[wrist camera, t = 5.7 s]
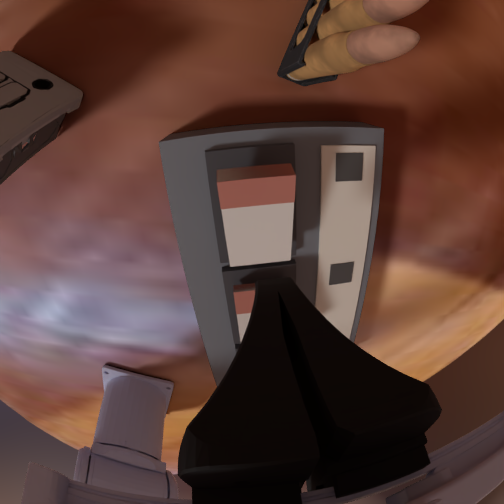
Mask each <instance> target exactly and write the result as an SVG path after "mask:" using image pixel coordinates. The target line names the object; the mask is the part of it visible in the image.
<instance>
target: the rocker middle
mask: <svg viewBox="0 0 504 504" xmlns="http://www.w3.org/2000/svg"><path fill="white" fill-rule="evenodd" d="M233 293H234V300H235V308H236V314H237V320H238V327H239V335H240V342H241V341H242V339H243V336H244V334H245V331H246V328H247V325H248V322H249V319H250V315H251V311H252V307H253V303H254V297H255V283H252V284H242V285H233Z"/></svg>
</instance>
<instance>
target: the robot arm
mask: <svg viewBox="0 0 504 504" xmlns="http://www.w3.org/2000/svg"><path fill="white" fill-rule="evenodd" d="M102 374H103V384H104V397H103V401H102V405H101V409H100V413H99V417H98V422H97V426H96V431H95V436H94V441H93V444H92V447H91V449H90V448H89V447H86V446H85V447H84V448H81V449H79V452H78V457H77V462H76V467H75V473H74V479H73V480H71V479H68V477H66V476H64V475H62V474H61V473H59V472H57V471H55V470H52V469H49V468H47V467H44V466H41V465H38V464H36V463H33V462H29V466H28V470H27V475H26V480H25V485H24V491H23V496H22V503H21V504H344V503H348V502H351V501H355V500H358V499H361V498H365V497H368V496H371V495H374V494H377V493H380V492H383V491H386V490H388V489H391V488H394V487H396V486H399V485H401V484H404V483H406V482H409V481H411V480H414V479H416V478H418V477H420V476H423V475H425V474H427V473H428V474H427V475H426V477H425V478H424V479H422V480H420V481H419V482H416V483H414V484H412V485H410V486H407V487H406V488H404V489H403V490H401V491H399V492H397V493H395V494H393V495H391V496H389V497H387V498H386V503H387V504H476V503H478V502H479V501H480V500H481V499H483V498H484V497H485V496H486V495H487V494H489V493H490V492H491V491H492V490H493V489H495V488H496V487H497V486H498V485H499V484H500V483H501V482H502V481H504V411H503V412H501V413H500V414H499V415H497V416H495V417H494V418H492V419H491V420H490V421H488V422H486V423H485V424H483V425H482V426H480V427H478V428H477V429H475V430H473V431H472V432H470V433H468V434H467V435H465V436H463V437H461V438H459V439H457V440H455V441H454V442H452V443H450V444H448V445H446V446H444V447H442V448H440V449H438V450H436V451H434V452H432V453H430V454H427V451H426V448H425V446H424V445H425V444H426V443H427V438H426V436H425V432H426V431H427V430H428V428H430V426H431V425H432V424H433V423H434V422H435V421H436V420H437V419H438V418H439V416H440V414H441V410H442V409H441V407H440V405H439V403H438V400H437V398H436V396H435V394H434V393H433V391H432V390H431V388H430V386H429V385H428V384H426V383H424V382H421V381H419V380H417V379H414V378H412V377H410V376H407V375H405V374H403V373H401V372H399V371H397V370H395V369H393V368H392V367H390V366H388V365H386V364H384V363H383V362H381V361H380V360H378V359H376V358H375V357H373V356H372V355H370V354H369V353H367V352H365V351H364V350H363V349H361V348H360V347H359V346H357V345H356V344H355V343H353V342H352V341H351V340H350V339H348V338H347V337H346V336H345V335H343V334H342V333H341V332H340V331H339V330H338V329H337V328H336V327H335V326H333V325H332V324H331V323H330V322H329V321H328V320H327V319H326V318H325V317H324V316H323V315H322V314H321V313H320V311H319V310H318V309H317V308H316V307H315V306H314V305H313V304H312V303H311V302H310V300H309V299H308V298H307V297H306V296H305V294H304V293H303V292H302V291H301V290H300V288H299V287H298V286H297V284H296V283H295V282H294V280H293V279H292V278H291V277H285V278H276V279H266V280H258V281H257V282H256V283H255V297H254V303H253V307H252V311H251V315H250V319H249V322H248V325H247V328H246V331H245V334H244V336H243V339H242V341H241V344H240V346H239V349H238V351H237V353H236V355H235V357H234V359H233V361H232V363H231V365H230V367H229V369H228V370H227V372H226V374H225V376H224V377H223V379H222V381H221V382H220V384H219V385H218V387H217V388H216V390H215V391H214V393H213V394H212V396H211V397H210V399H209V400H208V401H207V403H206V404H205V405H204V407H203V408H202V409H201V410H200V412H199V413H198V414H197V415H196V416H195V418H194V419H193V420H192V421H191V422H190V424H189V425H188V426H187V428H186V431H185V434H184V436H183V439H182V443H181V446H180V451H179V457H178V476H179V477H180V478H181V479H182V480H183V481H184V482H186V483H187V484H188V485H190V486H191V487H192V500H186V499H178V485H177V482H176V479H175V478H174V477H173V475H172V473H171V472H170V471H168V470H166V463H165V462H161V455H162V441H163V429H164V418H165V416H166V413H167V409H168V405H169V402H170V398H171V395H172V391H173V387H174V383H173V382H171V381H167V380H162V379H158V378H153V377H149V376H145V375H141V374H137V373H133V372H129V371H125V370H122V369H118V368H115V367H111V366H108V365H103V367H102ZM305 480H306V483H307V490H308V492H303V493H301V488H302V486H303V484H304V482H305Z"/></svg>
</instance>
